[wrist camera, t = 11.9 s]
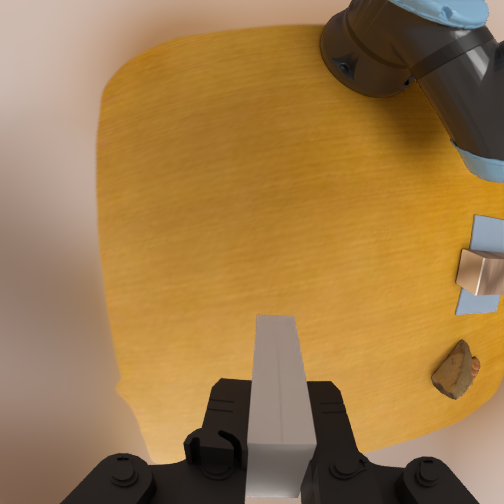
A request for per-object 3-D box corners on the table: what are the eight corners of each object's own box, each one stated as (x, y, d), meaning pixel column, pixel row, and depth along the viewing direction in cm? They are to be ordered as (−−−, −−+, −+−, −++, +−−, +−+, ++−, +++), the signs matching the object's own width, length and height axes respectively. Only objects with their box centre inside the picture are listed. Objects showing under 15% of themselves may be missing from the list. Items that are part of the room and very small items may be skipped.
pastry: (467, 352, 45) (477, 361, 42) (481, 360, 46) (490, 369, 42) (440, 387, 48) (448, 397, 44) (455, 393, 48) (463, 403, 44)
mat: (474, 214, 39) (475, 214, 39) (513, 221, 39) (514, 222, 38) (454, 313, 43) (455, 314, 43) (494, 310, 43) (496, 311, 42)
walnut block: (483, 258, 34) (529, 261, 34) (462, 249, 40) (509, 253, 40) (474, 295, 36) (522, 293, 35) (455, 283, 42) (503, 283, 41)
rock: (469, 330, 42) (431, 366, 42) (494, 362, 36) (456, 400, 36) (457, 346, 49) (423, 376, 50) (478, 374, 44) (444, 405, 44)
